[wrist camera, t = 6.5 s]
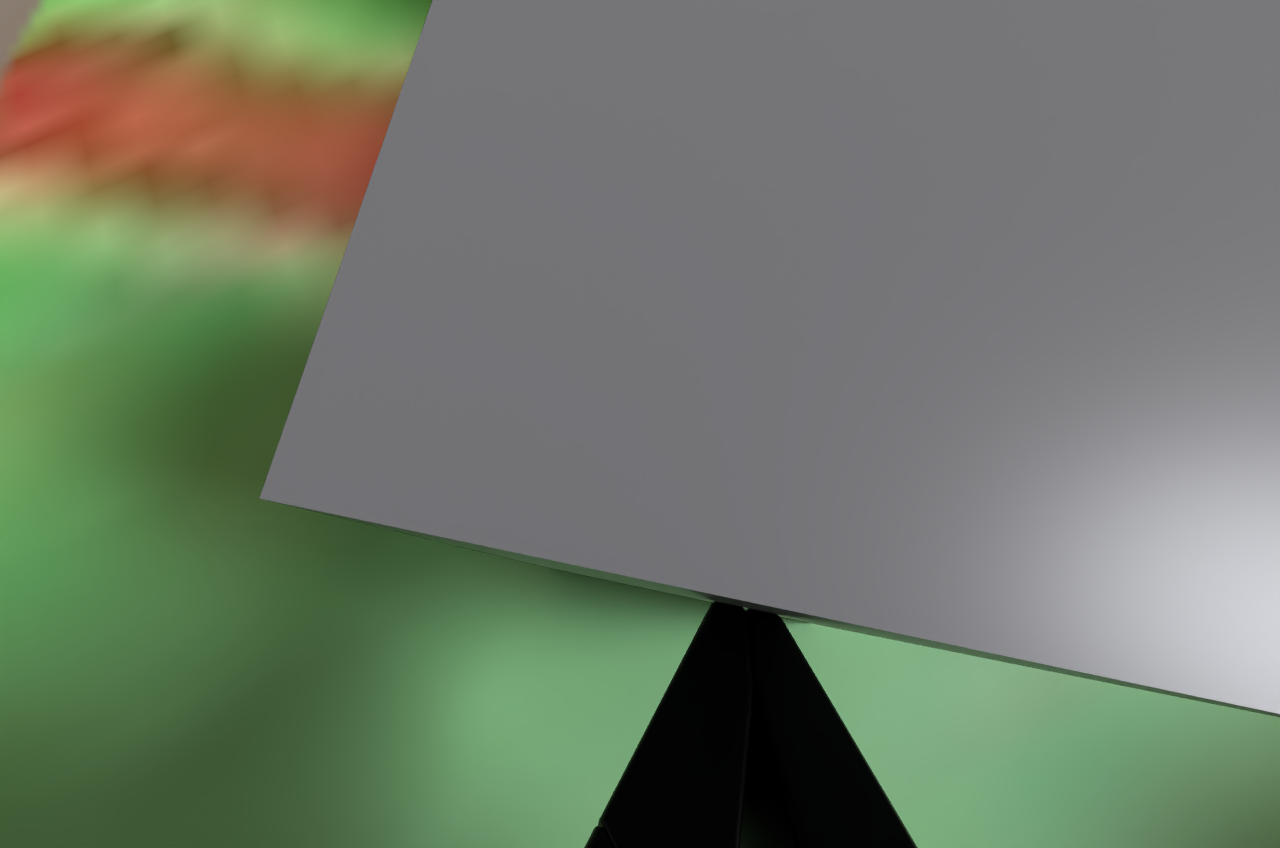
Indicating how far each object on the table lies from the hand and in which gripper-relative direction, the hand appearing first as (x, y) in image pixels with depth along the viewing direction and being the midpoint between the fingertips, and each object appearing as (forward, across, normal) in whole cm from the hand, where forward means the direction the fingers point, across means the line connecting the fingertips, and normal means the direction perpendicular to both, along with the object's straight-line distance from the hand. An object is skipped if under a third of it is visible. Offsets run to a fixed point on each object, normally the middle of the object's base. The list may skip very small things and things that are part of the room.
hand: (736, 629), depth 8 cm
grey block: (+10, 0, -1) cm, 10 cm away
